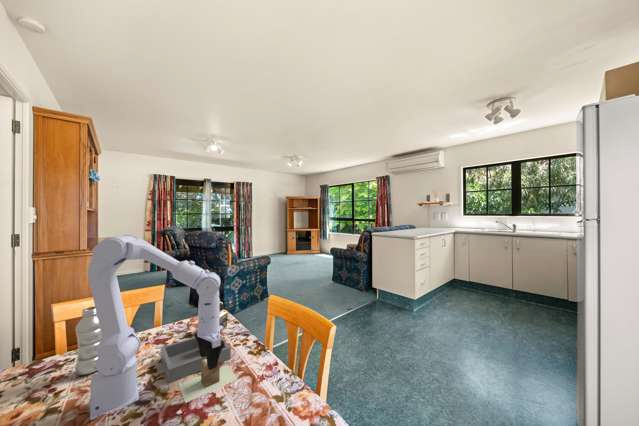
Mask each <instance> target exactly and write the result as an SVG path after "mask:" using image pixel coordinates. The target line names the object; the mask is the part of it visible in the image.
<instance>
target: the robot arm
mask: <svg viewBox="0 0 639 426" xmlns="http://www.w3.org/2000/svg"><path fill="white" fill-rule="evenodd" d="M91 251H92V253H93V254H92V257H91V259H90V262H89V265H88V267H87V271H86V272H87V276H88V277H87V278H88V281H89V285H90V286H89V287H90V290H91V295H92V299H93V303H94V307H95V308H96V312H97V317H98V321H99V325H100V329H101V334H102V339H101V342H100V344H99V346H98V349H97V352H98V359H97V362H96V369H97V371H96V372H95V373H94V374H92V375H91V377H90V378H91V380H90V392H89V393H90V397H89V400H88V408H90V409H89V420H90V421H92V420H96V419H97V418H99V416H102V415H104V414H107V413H110V412H112V411H114V410H117V409H120V408H123V407H125V406H127V405H130V404H132V403H134V402H137V401H139V400H140V394H139V387H138V382H137V380H138V379H137V377H138V376H137V375H138V374H137V372H138V371H137V368H138V367H137V366H138V361H137V360H138V359H137V355H136V354H137V352H138V351H139V350H140V348H141V345H142V344H141V343H142V342H141V339H140V338H139V336H137V334H136V333H135V329H134V328H133V327H131V326H129V325H128V324H129V323H128V321H127V315H126V311H125V307H124V303H123V298H122V294H121V290H120V285H119V281H118V277H117V276H118V275H117V270H119V268H120V267H121V266H123V264H124V263H125V262H126V261H130V260H145V261H147V262H149V263H151V264H153V265H156V266H158V267H160V268H162V269H165V270H166V271H168V272H171V275H172V278H173V279H174V280H176V281H178V282H180V283H182V284H184V285H186V286H188V287H190V288H192V289H194V290H196V293H197V294H198V306H197V307H198V309H197V310H198V312H197V313H198V314H197V324H198V325H197V332H195V333H194V334H193V337H195V338H196V340H197V343H198V346H199V351H200V355H201V358H202V357H205V356H206V359H207V366H208V369H209V370H211V369H213V368H216V367H217V364H218V360H219V356H220V353H221V351H222V349H223V347H224V345H225V342H226V341H225V340H224V341H225V342H224V341H220V336H221V334H220V333H221V332H222V331H223V326H219V313H220V302H221V299H220V286H221V278H220V276H219V275H218V274H217V273H216V272H214V271H210V270H208V269H203V268H202V267H200V266H198V265H196V264H195V263H196V262H195V261H193V260H190V261H188V260H187V259H185V260H182V261H179V260H177V259H176V258H174V257H172V256H171V255H170V254H168V253H166V252H164V251H163V250H161V249H159V248H157V247H156V246H154V245H152V244H151V243H149V242H147V241H146V240H144V239H141V238H138V237H137V236H135V235H133V234H124V235H120V236H111V237H109V236H108V237H105V238H104V239H102V240H101V241H99V242H98V243H97V244H96V245H94V247H92V249H91ZM221 330H222V331H221ZM220 331H221V332H220Z"/></svg>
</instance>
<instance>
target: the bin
mask: <svg viewBox="0 0 639 426" xmlns="http://www.w3.org/2000/svg"><path fill="white" fill-rule="evenodd" d="M220 341H224V342H225V345H224V347H223V349H222V351H221V353H220V356H219V361H220V364H222V363H224V362H227V361H230V360H231V357H232V356H231V346H230V344H228V342H226V340H225V339H223V337H222V336H221V335H220ZM203 359H206V356H205V357H202V358H201V355H200V353H199V351H198V343H197V340H196V338H195V336H193V337H191V338H186V339H184V340H181V341H178V342H174V343H170V344H167V345H164V346H161V347H160V361H161V364H162V366H163V369H164V372H165V376H166V379H167V382H168V384H171V383H173V382H177V381H178V380H181V379H184V378H186V377H189V376H191V375H194V374H197V373H199V372H201V360H203Z"/></svg>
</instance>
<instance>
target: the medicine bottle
mask: <svg viewBox="0 0 639 426" xmlns="http://www.w3.org/2000/svg"><path fill="white" fill-rule="evenodd" d="M219 326H223V330H225V329H226V328H228V312H227V311H224V303H223V302H222V301H220V313H219ZM223 330H221V331H220V333H221V332H222V331H223Z"/></svg>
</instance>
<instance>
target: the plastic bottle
mask: <svg viewBox="0 0 639 426" xmlns="http://www.w3.org/2000/svg"><path fill="white" fill-rule="evenodd" d="M81 317H82V318H81V319H80V320H79V321H78V322H77V324H76V325H75V326H76V327H75V330H74V331H75V335H76V341H77V356H76V362H75V367H74V370H75V374H77V375H79V376H87V375H89V374H93V373H96V372H98V371H97V369H96V362H97V359H98V352H97V349H98V346H99V344H100V342H101V339H102V334H101V329H100V325H99V321H98V317H97V312H96V308H95V306H90V307H85V308H84V309H82V312H81Z"/></svg>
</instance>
